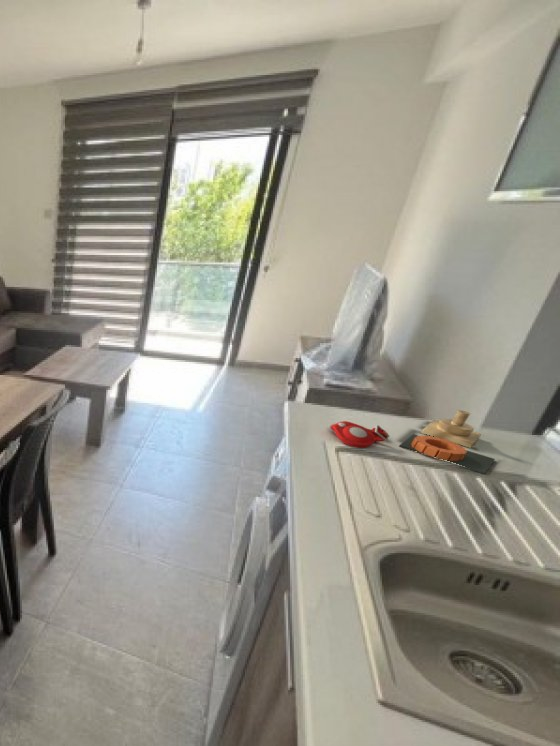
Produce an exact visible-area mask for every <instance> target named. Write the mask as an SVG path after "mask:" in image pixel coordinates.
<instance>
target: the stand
mask: <svg viewBox="0 0 560 746" xmlns="http://www.w3.org/2000/svg"><path fill="white" fill-rule="evenodd" d="M470 415H471V413H470V412H469V411H466V410H460V409H459V410H457V412H456V413H455V415H454V416H453V418H452V419H451V418H441V419H440V420H439V421H438V420H435V419H434V420H432V421H431V422H430V423H428V424H427V425H426V426H425V427H424V428H423V429H422V431H421V434H423V435H426V434H427V435H426V436H429V435H430V436H432V437H433V436H434V437H437V438H440V439H441V440H442V439H444V440H448V441H451V442H453V443H456V444H458V445H460V446H462V447H467V448H470V449H471V448H472V447H473V446H474V445H475V444H476V442H477V441H478V440H479V439H480V438H481V436H482V433H481V432H477V431H474V430H475V427H474V426H472V425H470V424H469V423H466V422H467V420H468V418H469V416H470ZM430 436H429V437H430Z"/></svg>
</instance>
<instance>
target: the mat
mask: <svg viewBox="0 0 560 746" xmlns="http://www.w3.org/2000/svg"><path fill="white" fill-rule="evenodd" d="M417 436H419V435H418V434H414V433H413V434H410V436H409V437H407V438H406V439H405V440H404V441H403V442H402V443H400V444H399V445H398V447H399V448H402V449H405V448H406V450H408V449H410V450H409V451H411V450H413V451H412V452H414V451H417V450H416V449H414V448H413V447H412V445H411V444H412V442H413V440H414V438H415V437H417ZM466 451H467V453H466V455H465V456H464V458H463V459H462V460H460V461H450V462H453V463H456V464H459V465H462V466H465V467H467V468H470V469H472V470H471V471H473V470H475V471H474V472H476V471H477V472H476V473H480V474H482V475H485V474H486V472H487V471H488V470H489V468H490V466H492V464H493V463H494V461H496V459H495V458H493V457H489V456H486V455H483V454H481V453H477V452H474V451H471V450H467V449H466ZM418 452H419V451H417V452H416V453H418ZM419 454H421V452H420V453H419ZM447 461H449V460H447ZM467 468H466V469H467ZM470 469H469V470H470Z"/></svg>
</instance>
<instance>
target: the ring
mask: <svg viewBox="0 0 560 746" xmlns="http://www.w3.org/2000/svg"><path fill="white" fill-rule="evenodd" d="M411 445H412V447H413V448H414V449H416V450H417V451H419V452H421V453H423V454H422V455H424V454H426V455H425V456H427V455H428V456H427V457H430V456H431V457H430V458H433V457H436V458H438V459H437V460H439V459H443V460H449V461H460V460H462V459H463V458H464V456H465V455H466V453H467V451H468V450H467V449H466V448H465V447H464V446H462V445H459V444H456V443H453V442H451V441H448V440H444V439H440V438H437V437H433V436H429V435H418V436H417V437H415V438H414V440H413V442H412V444H411ZM466 450H467V451H466ZM421 453H420V454H421ZM436 458H435V459H436Z"/></svg>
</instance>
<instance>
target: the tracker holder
mask: <svg viewBox="0 0 560 746" xmlns="http://www.w3.org/2000/svg"><path fill="white" fill-rule="evenodd" d="M330 429H331V430H332V431H333V432H334V434H335V435H336V437H337V439H338V440H340V441H341V442H342V443H343V444H345V445H347V446H350V447H353V448H357V449H358V448H359V449H362V448H363V449H364V448H368V447H370V446H372V445H373V444H374V443H375V442H376V443H378V442H379V443H380V442H384V441H385V442H388V441H389V438H390V434H389V433H388V432H387V431H386V429H385V430H384V429H383V428H382V427H381V426H380V425H378V424H376V425H375V427H373V428H372V429H370V428H367V427H365V426H363V425H360V424H357V423H354V422H351V421H347V420H343V421H339V422H336V423H334V424H333V423H332V424H331V425H330Z"/></svg>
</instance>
